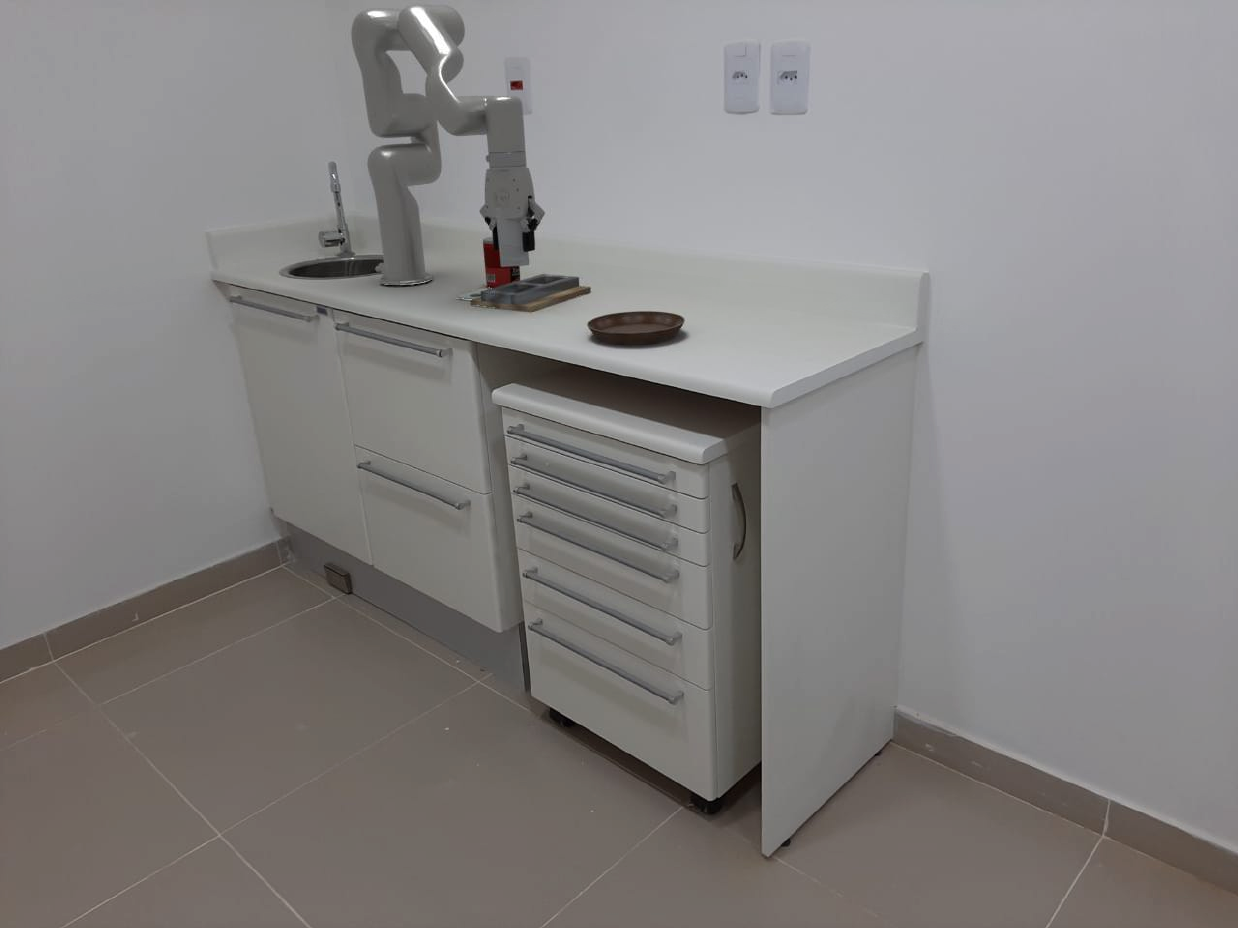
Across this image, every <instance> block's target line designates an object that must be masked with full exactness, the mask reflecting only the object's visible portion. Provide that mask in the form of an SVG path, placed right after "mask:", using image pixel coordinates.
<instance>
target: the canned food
mask: <svg viewBox="0 0 1238 928" xmlns="http://www.w3.org/2000/svg"><path fill="white" fill-rule="evenodd" d="M482 248H483V249H482V250H483V260H484V261H483V262H484V271H485V273H484V274H485V283H486V287H487V288H488V287H490V288H495V287H499V286H502V285H506V284H509V283H513V282H516V281H520V280H521V267H520V266H508V267H501V262H500V251H499V250H494V246H493V236H489V237H485V238H483V239H482ZM490 288H489V289H490Z"/></svg>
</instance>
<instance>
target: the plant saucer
mask: <svg viewBox="0 0 1238 928" xmlns="http://www.w3.org/2000/svg"><path fill="white" fill-rule="evenodd" d="M684 324H685V318H684V317H683V316H682V315H680V314H676V313H673V312H667V311H666V312H664V311H652V310H645V311H644V310H641V311H639V310H638V311H637V310H636V311H623V312H622V311H621V312H615V313H609V314H604V315H601V316H597V317H594V318H592V319H590V320H588V321H587V323H586V326H587V327H588V329H589V331H590V332H591V334H592V335H593V336H594V337H595V338H597V339H598V340H599V341H600V342H603V343H605V344H607V343H608V344H611V345H619V346H640V345H641V346H642V345H651V344H658V343H661V342H662V343H663V342H666V341H668V340H671V339H672V338H674V337H675V336H676V335H677V334H678V332H679V331H680V330H681V329H682V327H683V325H684Z"/></svg>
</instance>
